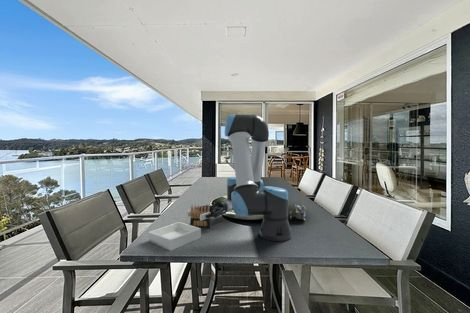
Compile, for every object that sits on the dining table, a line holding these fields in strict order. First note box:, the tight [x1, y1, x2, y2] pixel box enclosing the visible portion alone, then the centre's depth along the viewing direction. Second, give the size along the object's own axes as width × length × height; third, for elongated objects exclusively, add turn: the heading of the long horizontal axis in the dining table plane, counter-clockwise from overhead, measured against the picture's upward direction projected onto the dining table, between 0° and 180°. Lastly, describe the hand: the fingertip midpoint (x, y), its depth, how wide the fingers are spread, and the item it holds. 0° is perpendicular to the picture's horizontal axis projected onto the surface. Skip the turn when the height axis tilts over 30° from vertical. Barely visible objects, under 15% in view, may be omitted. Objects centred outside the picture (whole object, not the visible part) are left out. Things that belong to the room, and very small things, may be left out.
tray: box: [148, 221, 202, 252], centre depth 117 cm, size 16×18×4 cm
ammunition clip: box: [189, 204, 212, 230], centre depth 132 cm, size 11×2×12 cm, turn 83°
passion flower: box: [288, 202, 308, 221], centre depth 145 cm, size 11×11×12 cm
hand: (193, 216), depth 129 cm, fingers closed on ammunition clip, 9 cm apart
